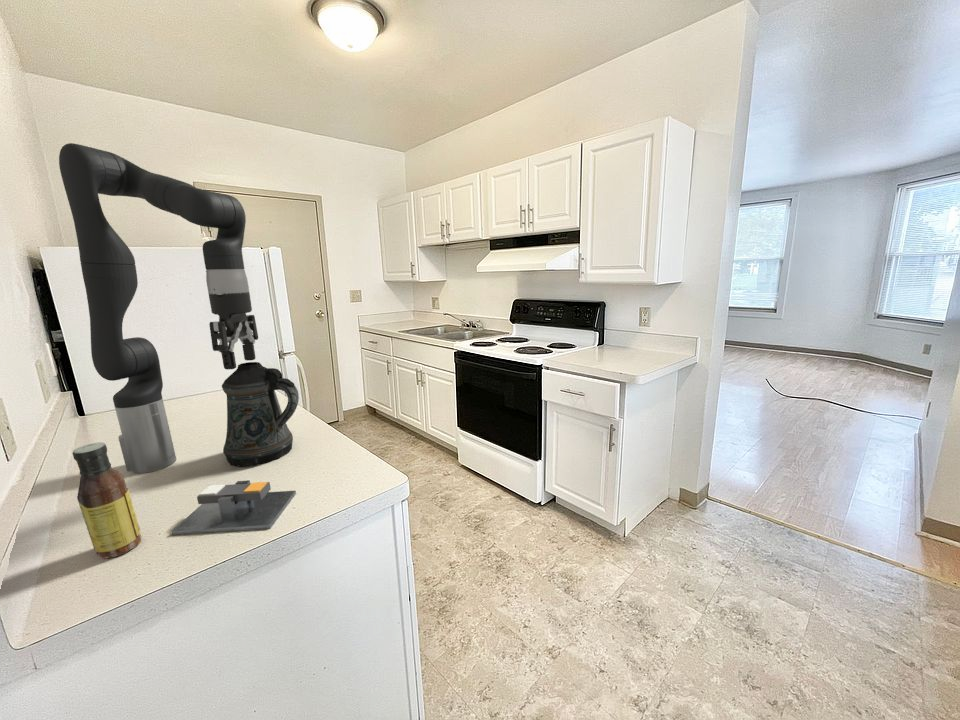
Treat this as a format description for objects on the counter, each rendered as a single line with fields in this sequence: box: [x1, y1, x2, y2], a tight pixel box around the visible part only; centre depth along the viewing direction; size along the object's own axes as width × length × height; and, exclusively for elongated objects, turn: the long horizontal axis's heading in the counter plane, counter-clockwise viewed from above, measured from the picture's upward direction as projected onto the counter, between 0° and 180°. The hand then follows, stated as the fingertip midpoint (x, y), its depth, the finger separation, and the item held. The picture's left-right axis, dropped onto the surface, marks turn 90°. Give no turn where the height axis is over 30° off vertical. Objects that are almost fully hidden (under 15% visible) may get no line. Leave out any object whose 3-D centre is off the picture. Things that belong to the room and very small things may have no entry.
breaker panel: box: [170, 479, 297, 536], centre depth 79 cm, size 18×12×5 cm, turn 93°
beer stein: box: [221, 361, 300, 468], centre depth 105 cm, size 16×19×25 cm
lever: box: [196, 481, 272, 505], centre depth 79 cm, size 12×4×2 cm, turn 93°
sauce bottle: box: [72, 441, 142, 559], centre depth 68 cm, size 6×6×20 cm
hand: (240, 364), depth 88 cm, fingers open, 8 cm apart
